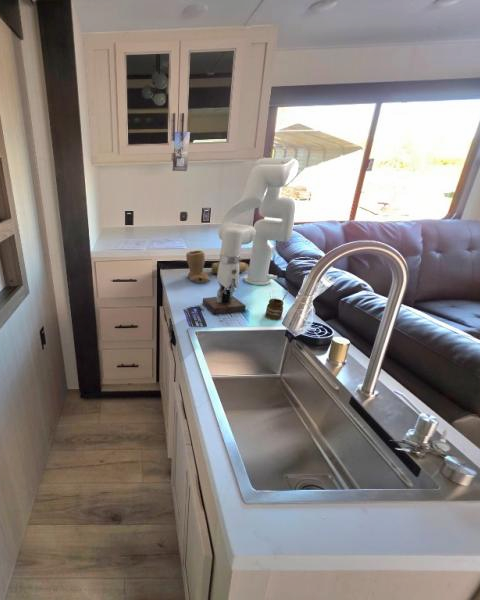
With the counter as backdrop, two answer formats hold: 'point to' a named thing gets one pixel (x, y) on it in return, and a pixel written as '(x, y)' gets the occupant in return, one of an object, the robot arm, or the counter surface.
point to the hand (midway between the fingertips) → (223, 300)
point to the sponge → (242, 267)
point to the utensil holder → (275, 308)
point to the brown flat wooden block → (223, 306)
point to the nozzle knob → (220, 294)
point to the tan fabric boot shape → (197, 266)
